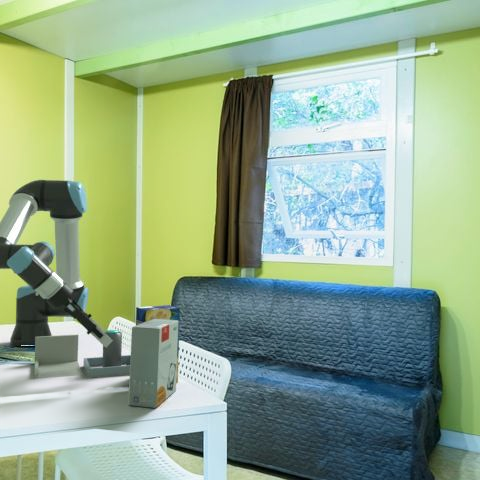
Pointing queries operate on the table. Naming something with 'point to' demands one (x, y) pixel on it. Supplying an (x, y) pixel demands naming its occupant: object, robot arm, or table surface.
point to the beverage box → (159, 313)
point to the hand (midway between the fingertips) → (105, 339)
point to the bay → (56, 356)
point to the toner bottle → (113, 349)
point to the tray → (106, 370)
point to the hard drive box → (153, 362)
